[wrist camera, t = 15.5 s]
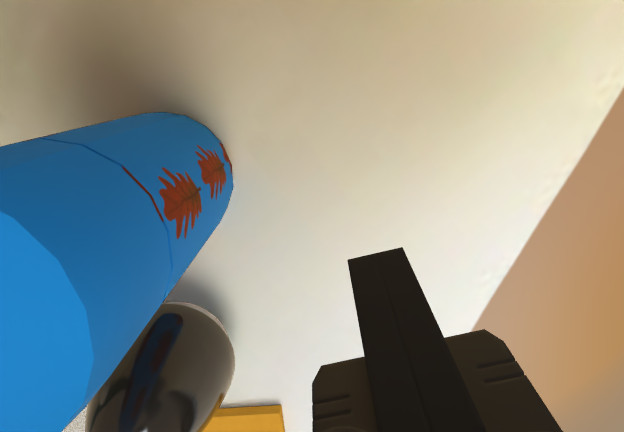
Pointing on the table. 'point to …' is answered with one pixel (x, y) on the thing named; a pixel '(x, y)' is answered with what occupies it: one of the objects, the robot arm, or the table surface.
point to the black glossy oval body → (167, 375)
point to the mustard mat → (247, 419)
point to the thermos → (95, 251)
